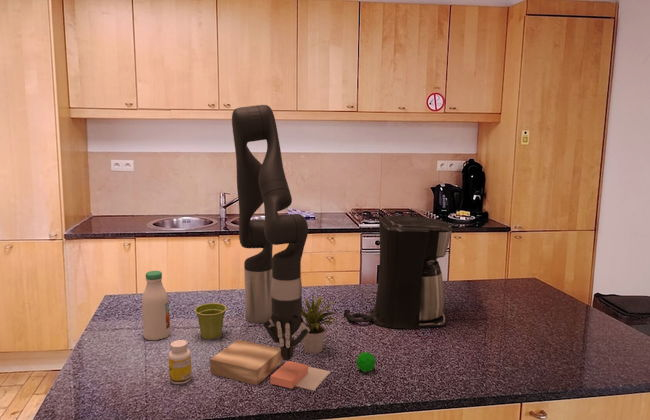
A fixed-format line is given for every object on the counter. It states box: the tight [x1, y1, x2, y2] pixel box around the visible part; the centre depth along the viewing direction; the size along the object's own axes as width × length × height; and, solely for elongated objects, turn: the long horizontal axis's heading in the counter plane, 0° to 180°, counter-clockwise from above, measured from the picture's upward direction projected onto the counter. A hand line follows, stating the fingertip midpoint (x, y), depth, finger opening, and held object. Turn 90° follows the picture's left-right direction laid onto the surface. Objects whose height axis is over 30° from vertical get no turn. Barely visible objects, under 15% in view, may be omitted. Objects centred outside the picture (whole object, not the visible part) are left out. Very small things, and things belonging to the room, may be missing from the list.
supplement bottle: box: [168, 339, 193, 385], centre depth 126 cm, size 5×5×10 cm
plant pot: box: [194, 302, 227, 340], centre depth 152 cm, size 9×9×9 cm
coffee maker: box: [343, 215, 454, 330], centre depth 163 cm, size 23×32×34 cm
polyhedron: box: [355, 351, 377, 373], centre depth 132 cm, size 5×5×5 cm
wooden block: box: [209, 339, 283, 386], centre depth 133 cm, size 13×14×4 cm
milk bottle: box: [141, 270, 171, 341], centre depth 151 cm, size 8×8×20 cm
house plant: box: [301, 294, 340, 354], centre depth 142 cm, size 14×14×16 cm
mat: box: [294, 366, 331, 391], centre depth 129 cm, size 10×12×1 cm
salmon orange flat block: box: [269, 360, 309, 390], centre depth 127 cm, size 9×6×2 cm, turn 156°
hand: (287, 359), depth 127 cm, fingers closed
